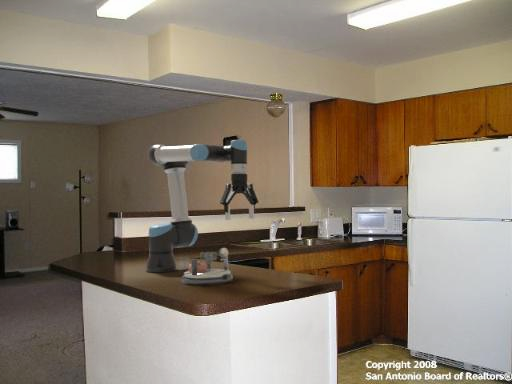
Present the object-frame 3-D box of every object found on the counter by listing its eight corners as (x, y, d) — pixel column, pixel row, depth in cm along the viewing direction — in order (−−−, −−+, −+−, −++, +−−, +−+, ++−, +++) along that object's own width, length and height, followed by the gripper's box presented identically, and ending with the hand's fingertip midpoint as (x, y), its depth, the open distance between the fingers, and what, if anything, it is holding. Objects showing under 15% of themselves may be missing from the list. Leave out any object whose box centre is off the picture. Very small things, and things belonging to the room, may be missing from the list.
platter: (174, 277, 219) (173, 258, 219) (205, 270, 235) (204, 253, 235) (213, 281, 206) (212, 261, 206) (243, 274, 222) (242, 255, 222)
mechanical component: (203, 272, 248) (203, 251, 248) (218, 273, 241) (218, 252, 241) (199, 272, 245) (198, 252, 245) (214, 274, 239) (213, 253, 239)
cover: (184, 271, 223) (184, 262, 224) (197, 269, 230) (197, 260, 230) (198, 273, 219) (198, 263, 219) (210, 270, 225) (210, 261, 225)
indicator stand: (216, 277, 230) (216, 248, 230) (225, 275, 235) (224, 246, 235) (225, 278, 227) (224, 248, 227) (234, 276, 232) (233, 247, 232)
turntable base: (171, 282, 219) (171, 278, 219) (205, 275, 237) (205, 271, 237) (210, 287, 206) (209, 282, 206) (243, 279, 224) (242, 274, 224)
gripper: (221, 172, 226) (222, 220, 226) (265, 173, 242) (265, 218, 242) (212, 173, 232) (212, 220, 232) (255, 173, 247) (256, 217, 248)
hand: (239, 219), depth 237 cm, fingers open, 13 cm apart
